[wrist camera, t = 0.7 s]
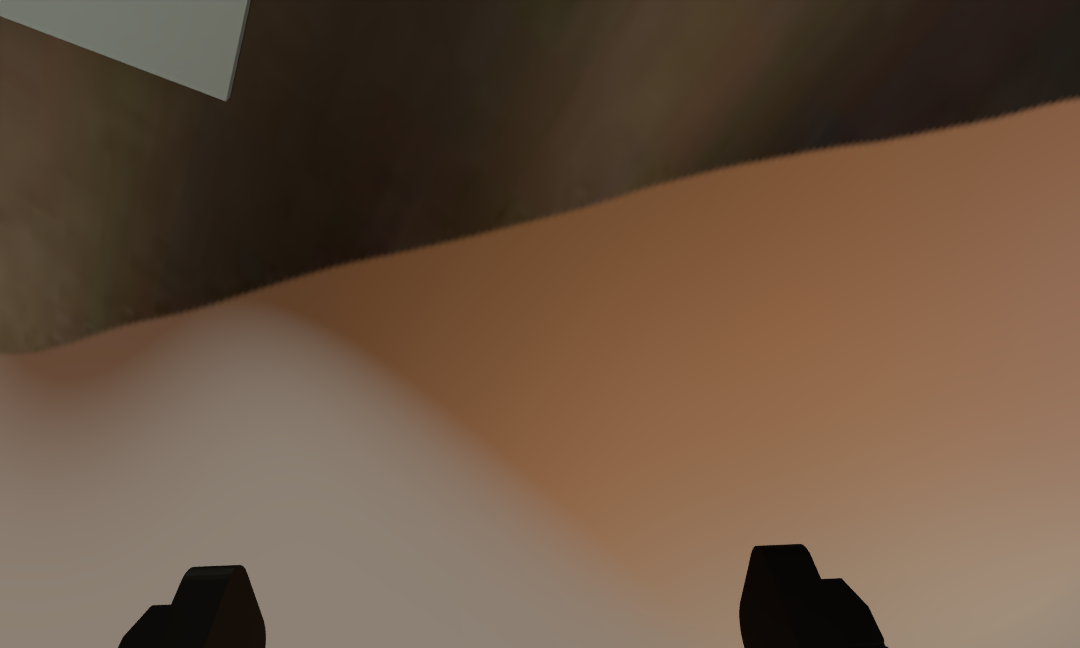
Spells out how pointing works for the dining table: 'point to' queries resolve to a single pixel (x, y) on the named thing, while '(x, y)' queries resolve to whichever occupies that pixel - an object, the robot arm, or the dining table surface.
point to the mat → (149, 34)
